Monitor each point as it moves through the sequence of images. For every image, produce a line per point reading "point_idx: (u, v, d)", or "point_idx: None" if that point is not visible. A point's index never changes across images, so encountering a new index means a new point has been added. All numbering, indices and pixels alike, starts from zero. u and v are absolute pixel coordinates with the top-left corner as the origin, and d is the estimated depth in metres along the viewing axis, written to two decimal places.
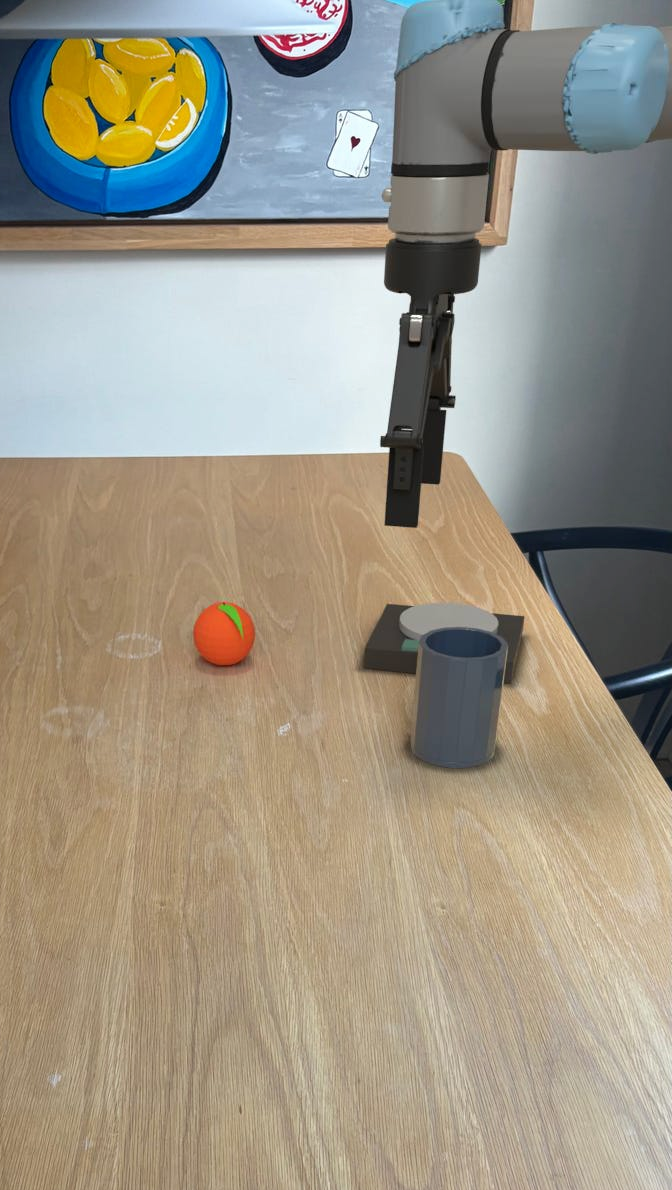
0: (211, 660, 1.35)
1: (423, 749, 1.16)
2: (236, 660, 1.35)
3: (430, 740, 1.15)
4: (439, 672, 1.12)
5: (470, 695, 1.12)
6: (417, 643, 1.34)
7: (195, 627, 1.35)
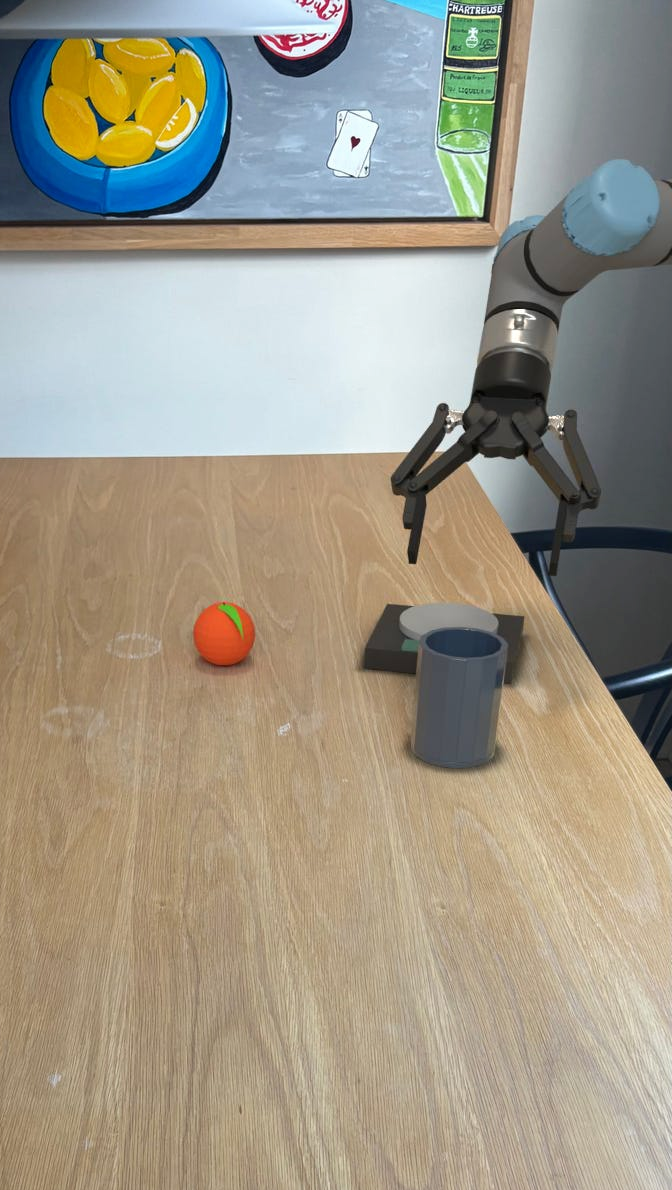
0: (211, 660, 1.35)
1: (423, 749, 1.16)
2: (236, 660, 1.35)
3: (430, 740, 1.15)
4: (439, 672, 1.12)
5: (470, 695, 1.12)
6: (417, 643, 1.34)
7: (195, 627, 1.35)
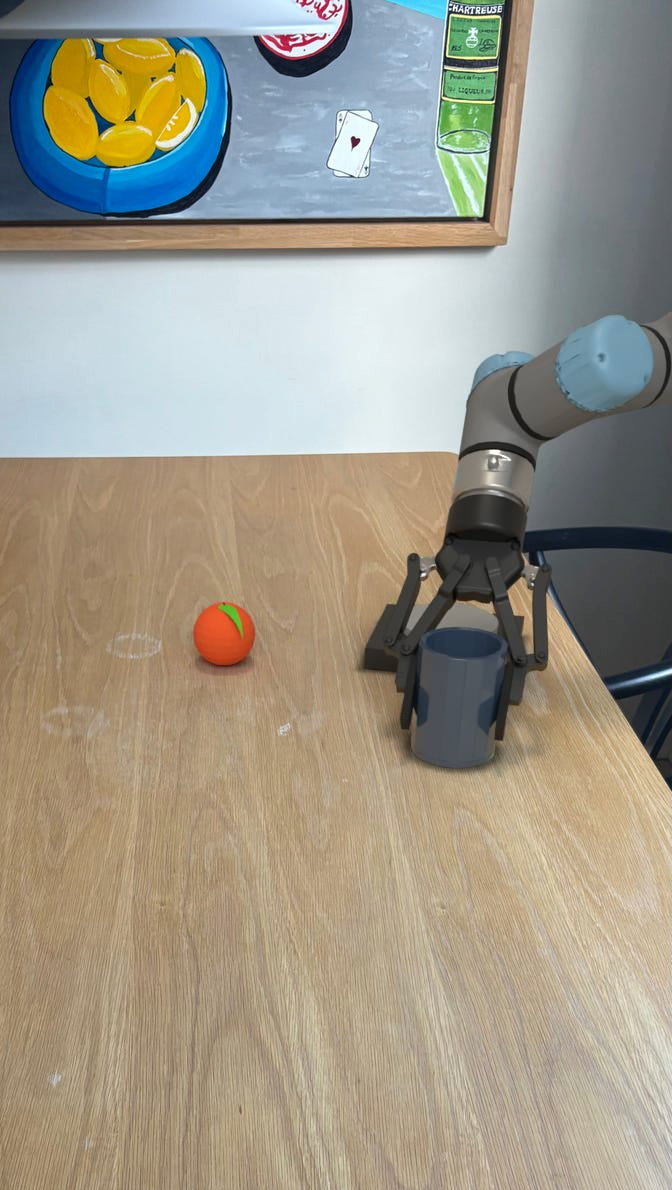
0: (211, 660, 1.35)
1: (423, 749, 1.16)
2: (236, 660, 1.35)
3: (430, 740, 1.15)
4: (439, 672, 1.12)
5: (470, 695, 1.12)
6: None
7: (195, 627, 1.35)
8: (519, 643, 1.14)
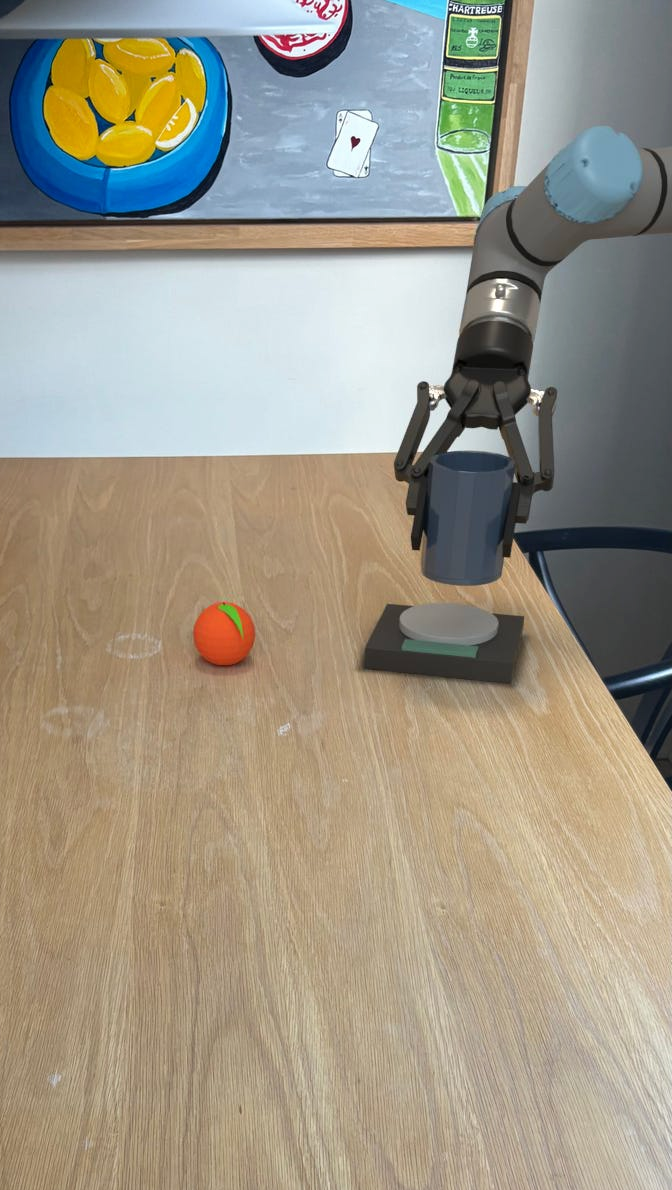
0: (211, 660, 1.35)
1: (433, 568, 1.20)
2: (236, 660, 1.35)
3: (440, 558, 1.19)
4: (449, 487, 1.16)
5: (479, 509, 1.16)
6: (417, 643, 1.34)
7: (195, 627, 1.35)
8: (526, 462, 1.18)
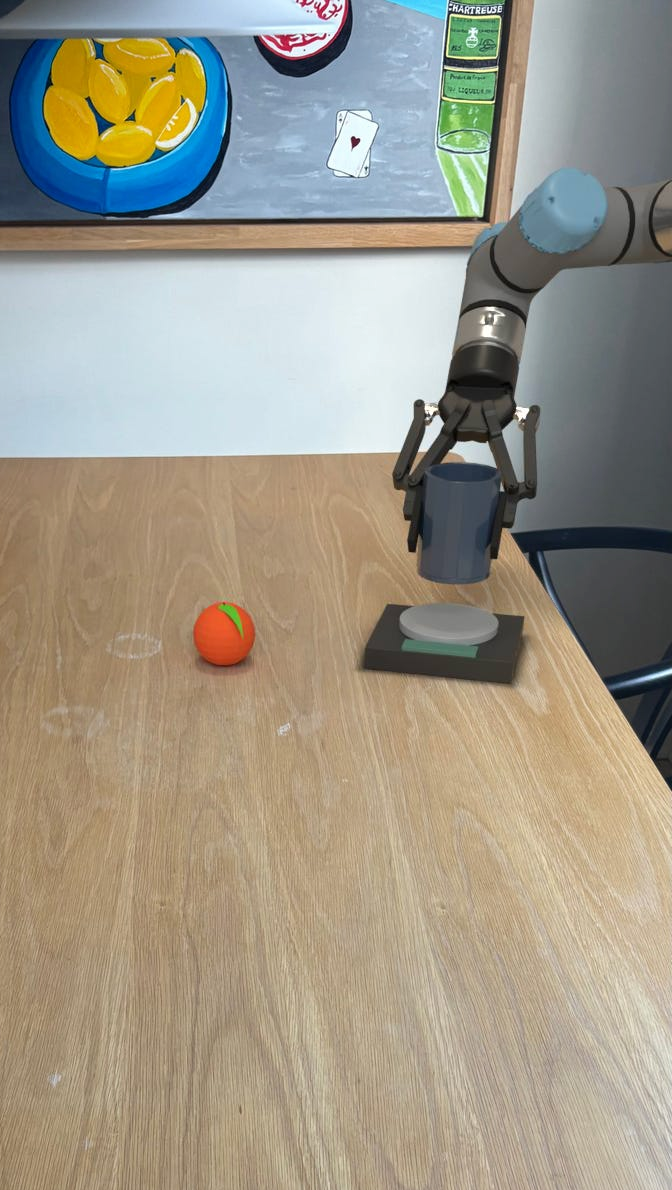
0: (211, 660, 1.35)
1: (427, 569, 1.33)
2: (236, 660, 1.35)
3: (434, 560, 1.32)
4: (442, 495, 1.28)
5: (469, 515, 1.28)
6: (417, 643, 1.34)
7: (195, 627, 1.35)
8: (511, 473, 1.30)
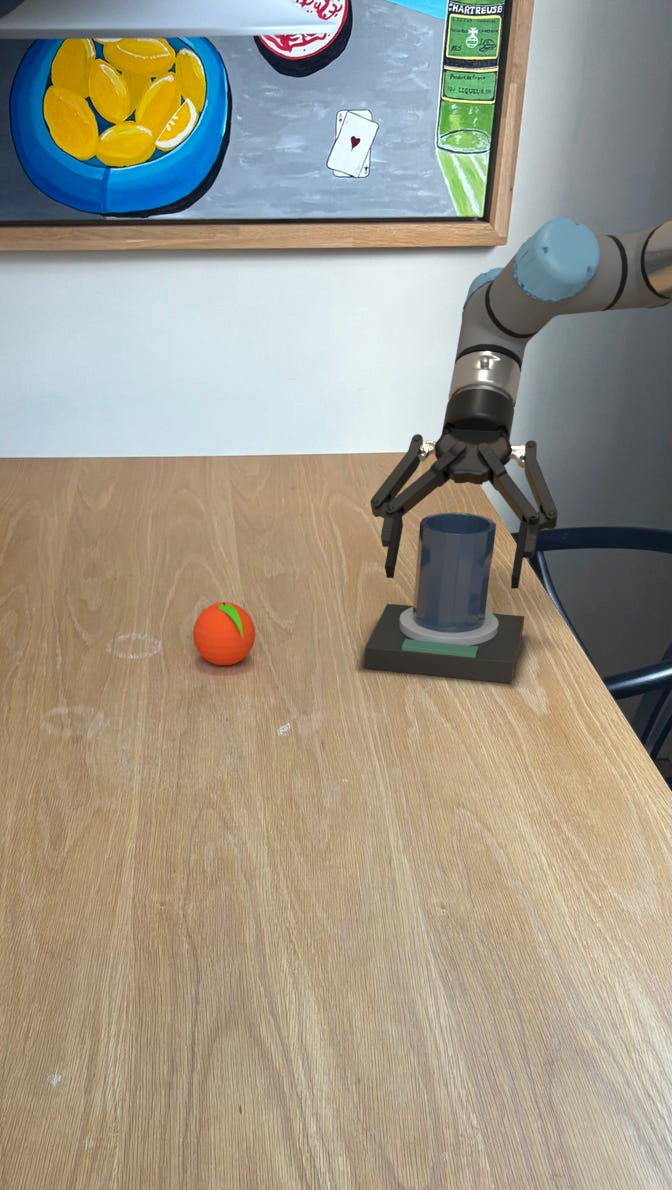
0: (211, 660, 1.35)
1: (423, 617, 1.36)
2: (236, 660, 1.35)
3: (429, 608, 1.35)
4: (437, 546, 1.31)
5: (464, 566, 1.31)
6: (417, 643, 1.34)
7: (195, 627, 1.35)
8: (528, 505, 1.32)
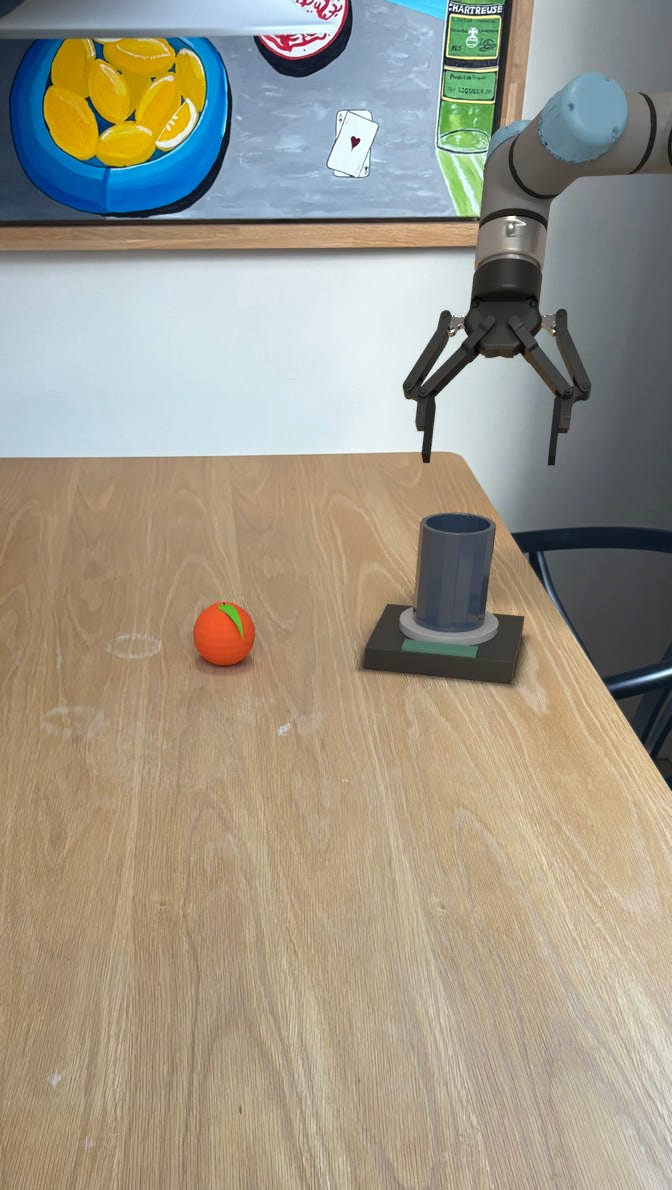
0: (211, 660, 1.35)
1: (423, 617, 1.36)
2: (236, 660, 1.35)
3: (429, 608, 1.35)
4: (437, 546, 1.31)
5: (464, 566, 1.31)
6: (417, 643, 1.34)
7: (195, 627, 1.35)
8: (561, 378, 1.33)
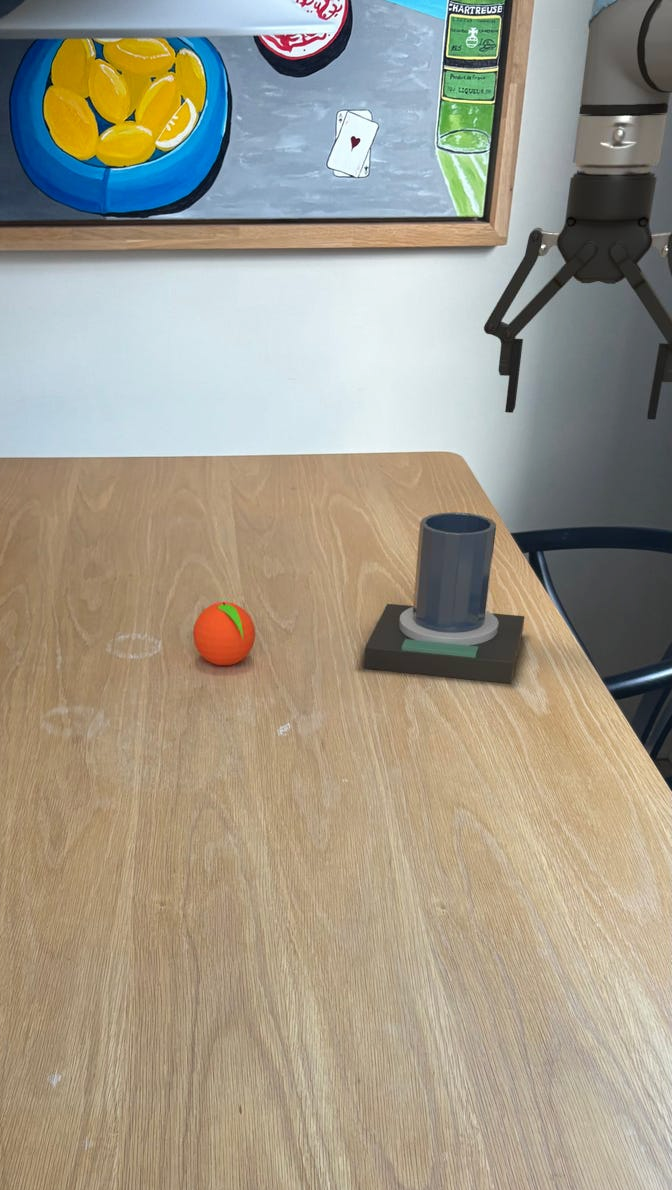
0: (211, 660, 1.35)
1: (423, 617, 1.36)
2: (236, 660, 1.35)
3: (429, 608, 1.35)
4: (437, 546, 1.31)
5: (464, 566, 1.31)
6: (417, 643, 1.34)
7: (195, 627, 1.35)
8: (669, 324, 1.15)
